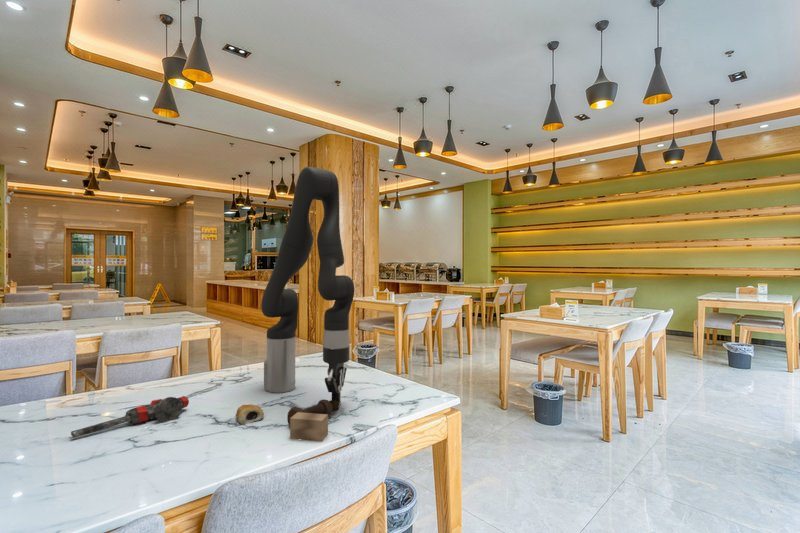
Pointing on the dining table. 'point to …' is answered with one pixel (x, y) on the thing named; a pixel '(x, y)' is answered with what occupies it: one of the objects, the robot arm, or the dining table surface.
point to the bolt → (316, 409)
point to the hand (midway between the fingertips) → (335, 404)
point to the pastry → (249, 413)
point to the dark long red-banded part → (143, 414)
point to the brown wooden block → (309, 426)
